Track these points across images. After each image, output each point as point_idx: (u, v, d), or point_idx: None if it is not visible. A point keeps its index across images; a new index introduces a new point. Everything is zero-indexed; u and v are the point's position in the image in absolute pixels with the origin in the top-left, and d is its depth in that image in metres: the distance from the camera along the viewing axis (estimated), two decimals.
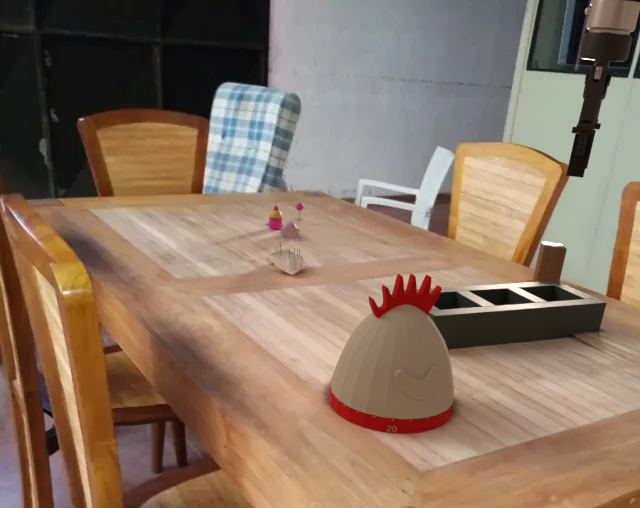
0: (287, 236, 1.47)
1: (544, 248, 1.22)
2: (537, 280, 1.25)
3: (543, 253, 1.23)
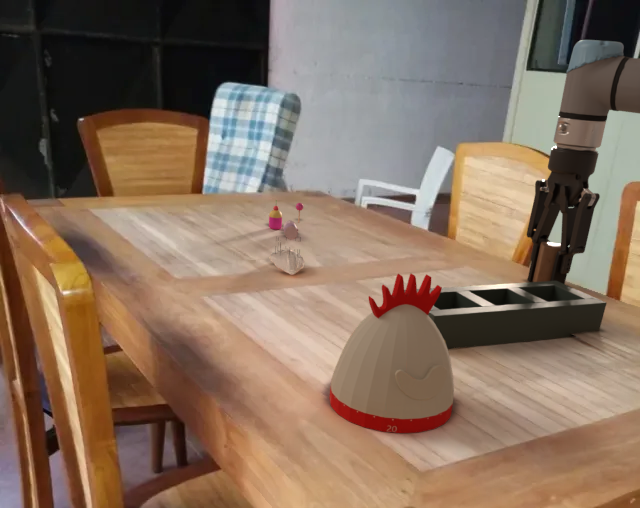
0: (287, 236, 1.47)
1: (544, 248, 1.22)
2: (537, 280, 1.25)
3: (543, 253, 1.23)
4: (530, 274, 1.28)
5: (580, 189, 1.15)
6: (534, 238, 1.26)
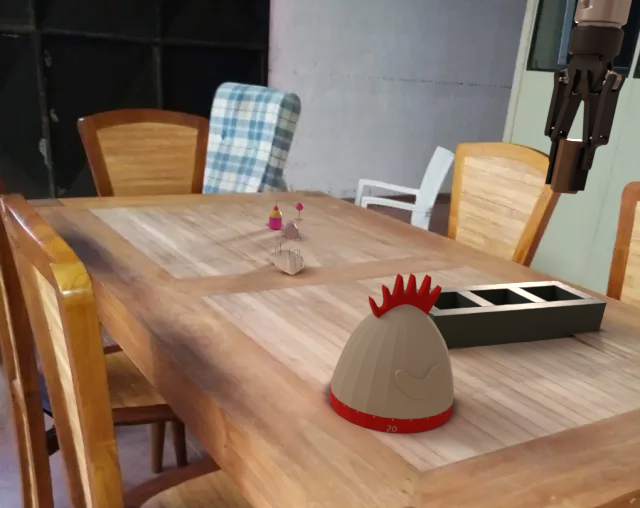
0: (287, 236, 1.47)
1: (564, 143, 1.12)
2: (556, 180, 1.15)
3: (563, 148, 1.13)
4: (548, 176, 1.18)
5: (604, 71, 1.05)
6: (552, 135, 1.16)
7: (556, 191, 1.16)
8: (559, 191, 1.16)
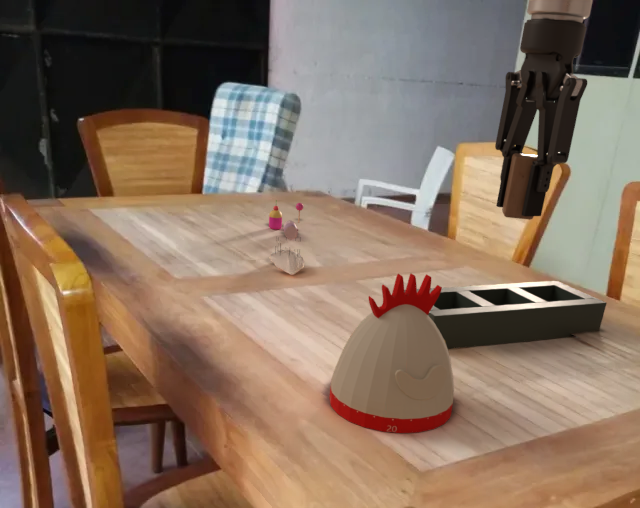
0: (287, 236, 1.47)
1: (516, 159, 0.94)
2: (507, 203, 0.97)
3: (515, 166, 0.94)
4: (500, 197, 1.00)
5: (562, 74, 0.87)
6: (504, 149, 0.98)
7: (508, 216, 0.97)
8: (511, 216, 0.97)
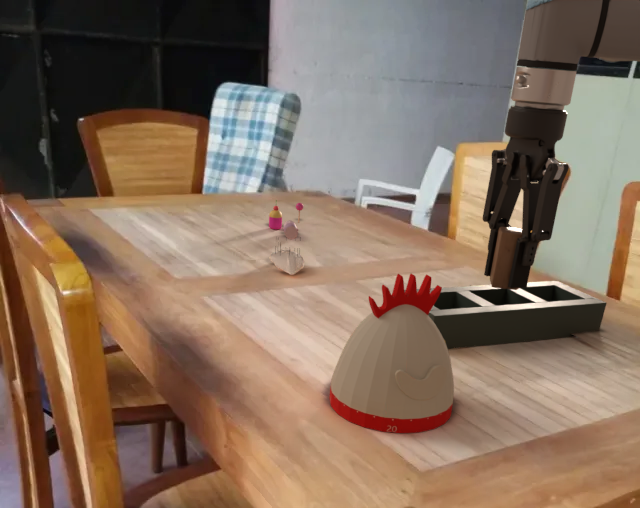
0: (287, 236, 1.47)
1: (502, 234, 0.98)
2: (494, 274, 1.01)
3: (501, 240, 0.99)
4: (487, 267, 1.04)
5: (544, 158, 0.91)
6: (491, 222, 1.02)
7: (495, 286, 1.02)
8: (498, 286, 1.01)
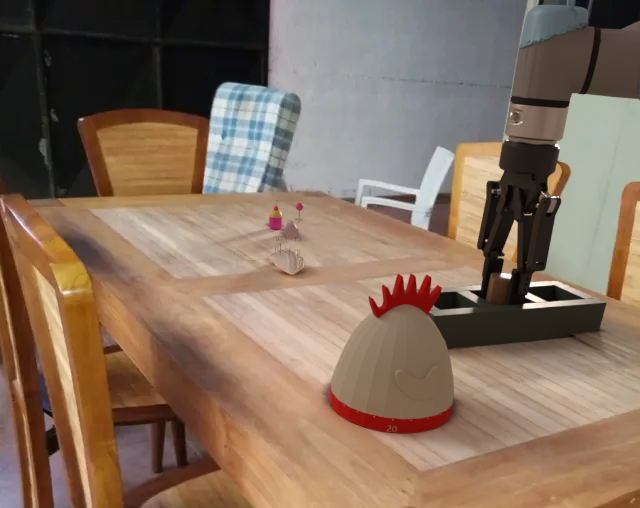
0: (287, 236, 1.47)
1: (494, 281, 1.01)
2: None
3: (493, 287, 1.02)
4: (481, 294, 1.06)
5: (537, 192, 0.93)
6: (485, 251, 1.04)
7: None
8: None
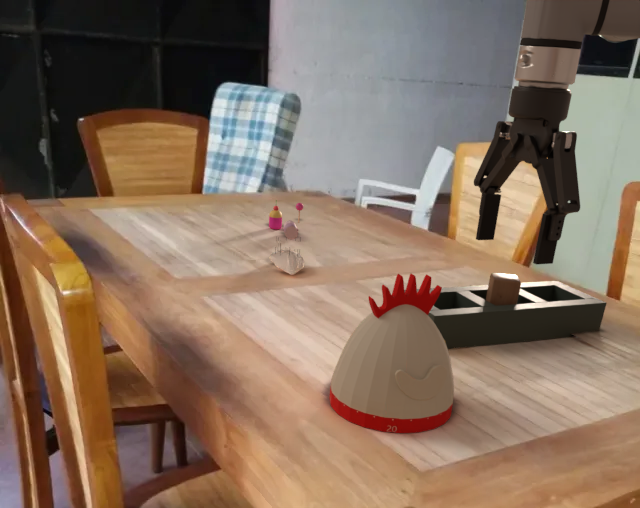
0: (287, 236, 1.47)
1: (494, 281, 1.01)
2: None
3: (493, 287, 1.02)
4: (478, 231, 1.05)
5: (549, 139, 0.90)
6: (482, 186, 1.03)
7: None
8: None
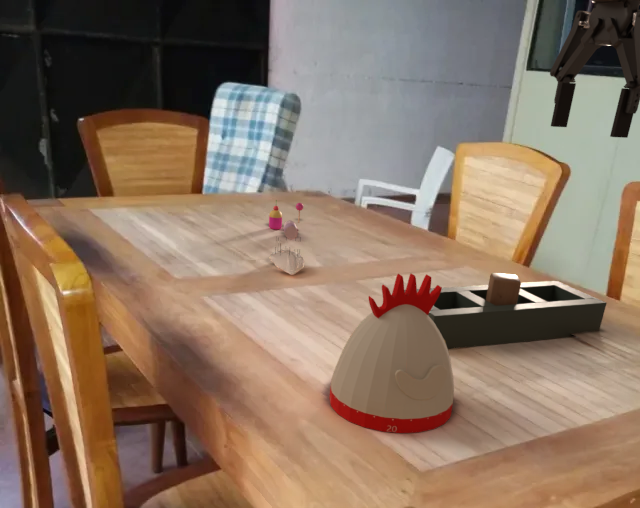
0: (287, 236, 1.47)
1: (494, 281, 1.01)
2: None
3: (493, 287, 1.02)
4: (554, 118, 1.15)
5: (629, 18, 1.00)
6: (559, 75, 1.13)
7: None
8: None
